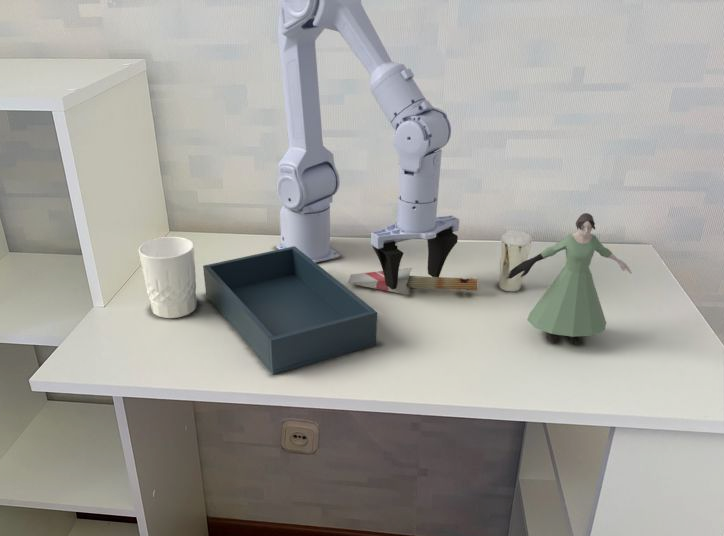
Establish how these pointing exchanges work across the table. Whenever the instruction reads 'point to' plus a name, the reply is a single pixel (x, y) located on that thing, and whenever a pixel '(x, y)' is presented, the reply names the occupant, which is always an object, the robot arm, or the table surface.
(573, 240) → the character figurine
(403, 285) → the paintbrush
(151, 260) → the white cup
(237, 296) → the tub
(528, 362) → the table surface
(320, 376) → the table surface
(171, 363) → the table surface
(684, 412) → the table surface
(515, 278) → the milkshake
